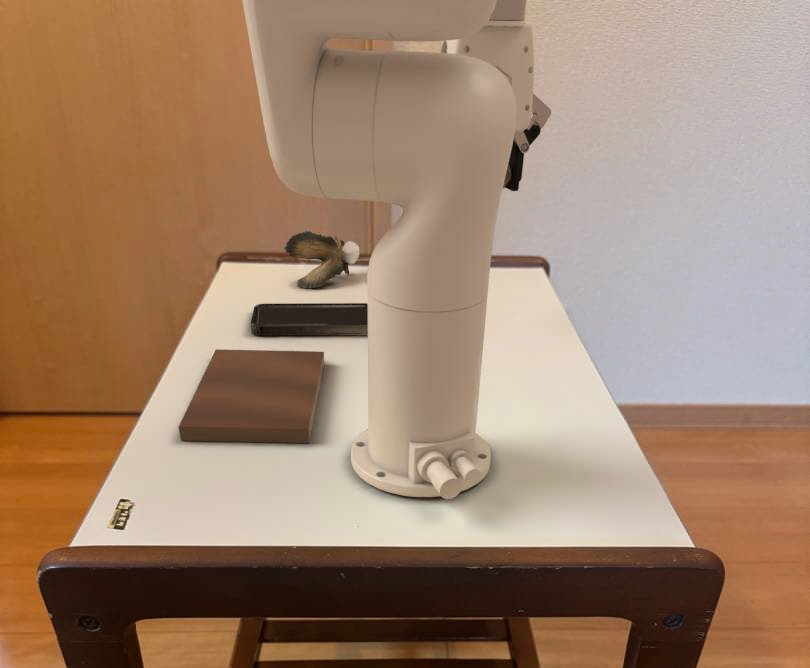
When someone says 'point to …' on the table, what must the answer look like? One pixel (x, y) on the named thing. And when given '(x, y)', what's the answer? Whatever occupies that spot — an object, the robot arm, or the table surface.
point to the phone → (310, 319)
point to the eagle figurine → (322, 256)
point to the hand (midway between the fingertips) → (475, 190)
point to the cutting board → (255, 397)
